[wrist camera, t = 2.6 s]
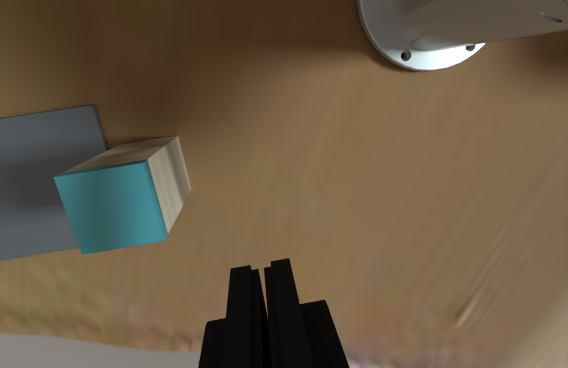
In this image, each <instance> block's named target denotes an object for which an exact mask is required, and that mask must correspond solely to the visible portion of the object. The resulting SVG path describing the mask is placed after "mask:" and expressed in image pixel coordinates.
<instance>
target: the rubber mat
mask: <svg viewBox="0 0 568 368" xmlns="http://www.w3.org/2000/svg"><path fill="white" fill-rule="evenodd" d="M106 151H108V148H107V144H106V141H105V138H104V135H103V131H102V128H101V125H100V122H99V119H98V115H97V112H96V109H95V106H94V105H90V106H83V107H76V108H70V109H63V110H56V111H49V112H43V113H36V114H29V115H22V116H16V117H9V118H2V119H0V261H1V260H7V259H13V258H19V257H25V256H31V255H37V254H43V253H49V252H54V251H60V250H66V249H72V248H78V247H79V245H78V242H77V240H76V237H75V234H74V232H73V229H72V226H71V223H70V221H69V218H68V215H67V213H66V210H65V207H64V205H63V202H62V199H61V197H60V194H59V191H58V188H57V186H56V183H55V180H54V178H53V177H55V176H57V175H59V174H61V173H63V172H65V171H67V170H69V169H71V168H73V167H75V166H77V165H79V164H81V163H83V162H85V161H87V160H89V159H91V158H93V157H95V156H98V155H100V154H102V153H104V152H106Z"/></svg>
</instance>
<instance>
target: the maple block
mask: <svg viewBox="0 0 568 368" xmlns="http://www.w3.org/2000/svg"><path fill="white" fill-rule="evenodd" d="M53 178H54V180H55V183H56V186H57V188H58V191H59V194H60V197H61V199H62V202H63V205H64V207H65V210H66V213H67V215H68V218H69V221H70V223H71V226H72V229H73V232H74V234H75V237H76V240H77V242H78V245H79V248H80V250H81V253H82V255H83V254H89V253H95V252H101V251H107V250H113V249H119V248H125V247H131V246H137V245H142V244H148V243H154V242H160V241H164V240H165V238H166V236H167V235H168V233H169V231H170V229H171V227H172V225H173V223H174V221H175V220H176V218H177V216H178V214H179V212H180V210H181V208H182V207H183V205H184V203H185V201H186V199H187V197H188V195H189V193H190V192H191V187H190V183H189V179H188V175H187V170H186V166H185V162H184V158H183V154H182V150H181V145H180V141H179V137H178V136H173V137H166V138H160V139H153V140H147V141H140V142H134V143H127V144H121V145H118V146H116V147H114V148H112V149H110V150H108V151H106V152H104V153H102V154H100V155H98V156H95V157H93V158H91V159H89V160H87V161H85V162H83V163H81V164H79V165H77V166H75V167H73V168H71V169H69V170H67V171H65V172H63V173H61V174H59V175H57V176H55V177H53Z"/></svg>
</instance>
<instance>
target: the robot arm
mask: <svg viewBox="0 0 568 368" xmlns="http://www.w3.org/2000/svg"><path fill="white" fill-rule="evenodd" d="M356 3H357V8H358V14H359V19H360V22H361V24H362V27H363V29H364V32H365V34H366V36H367V37H368V39H369V41H370V42H371V44H372V45H373V47H374V48H375V49H376V50H377V51H378V52H379V53H380V54H381V55H382V56H383V57H384V58H386V59H387V60H389V61H390V62H392V63H393V64H395V65H397V66H400V67H402V68H405V69H408V70H414V71H435V70H442V69H446V68H449V67H452V66H454V65H457V64H459V63H461V62H463V61H464V60H466V59H468V58H470V57H471V56H472V55H474V54H475V53H476V52H477V51H478V50H480V49H481V48H482V47H483V46H484V45H485V44H486V43H490V42H496V41H502V40H508V39H515V38H521V37H527V36H534V35H540V34H546V33H552V32H559V31H565V30H568V0H368V1H367V0H356ZM465 46H466V48H465ZM401 53H403V54H404V58H403V59H401ZM264 274H265V287H266V299H267V311H268V317H267V312H266V307H265V301H264V296H263V291H262V285H261V280H260V275H259V270H258V269H255V270H251V266H250V265H248V266H242V267H237V268H231V271H230V281H229V291H228V301H227V312H226V318H224V319H218V320H213V321H208V322H207V324H206V327H205V333H204V338H203V344H202V350H201V355H200V361H199V367H198V368H349V365H348V362H347V359H346V357H345V354H344V351H343V348H342V345H341V342H340V340H339V337H338V334H337V331H336V328H335V325H334V323H333V320H332V317H331V314H330V311H329V308H328V306H327V303H326V301H325V300H320V301H315V302H310V303H304V304H300V303H299V299H298V295H297V290H296V286H295V281H294V277H293V273H292V268H291V264H290V260H289V258H287V259H282V260H276V261H271V267H266V268H264Z"/></svg>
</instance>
